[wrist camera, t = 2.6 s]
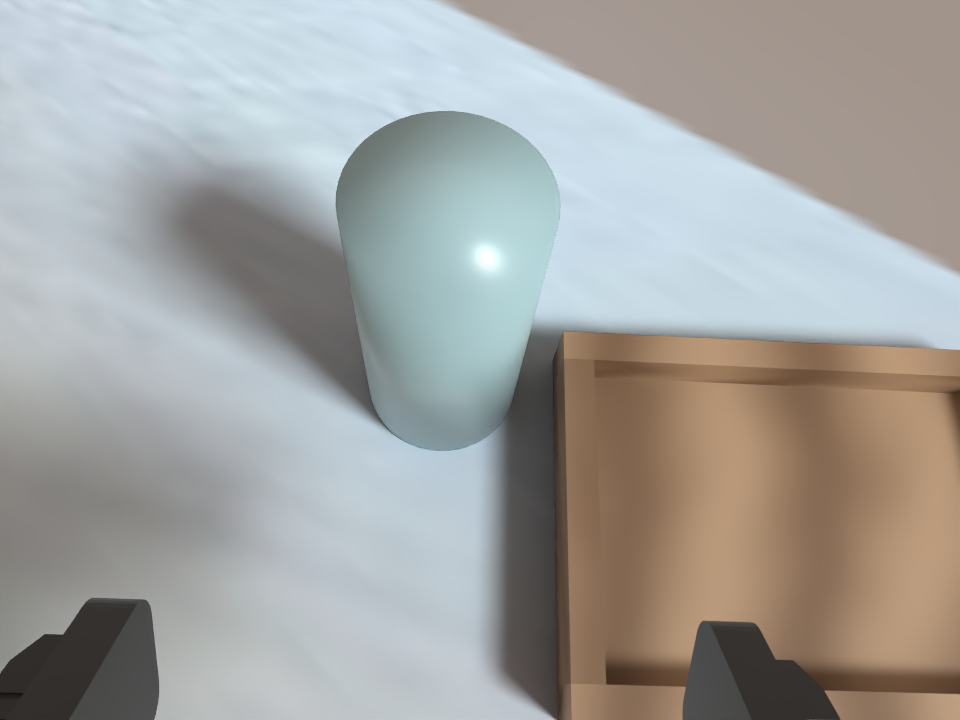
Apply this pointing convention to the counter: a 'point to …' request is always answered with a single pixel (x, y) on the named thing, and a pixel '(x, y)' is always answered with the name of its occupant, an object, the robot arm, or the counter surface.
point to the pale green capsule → (445, 269)
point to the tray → (756, 518)
